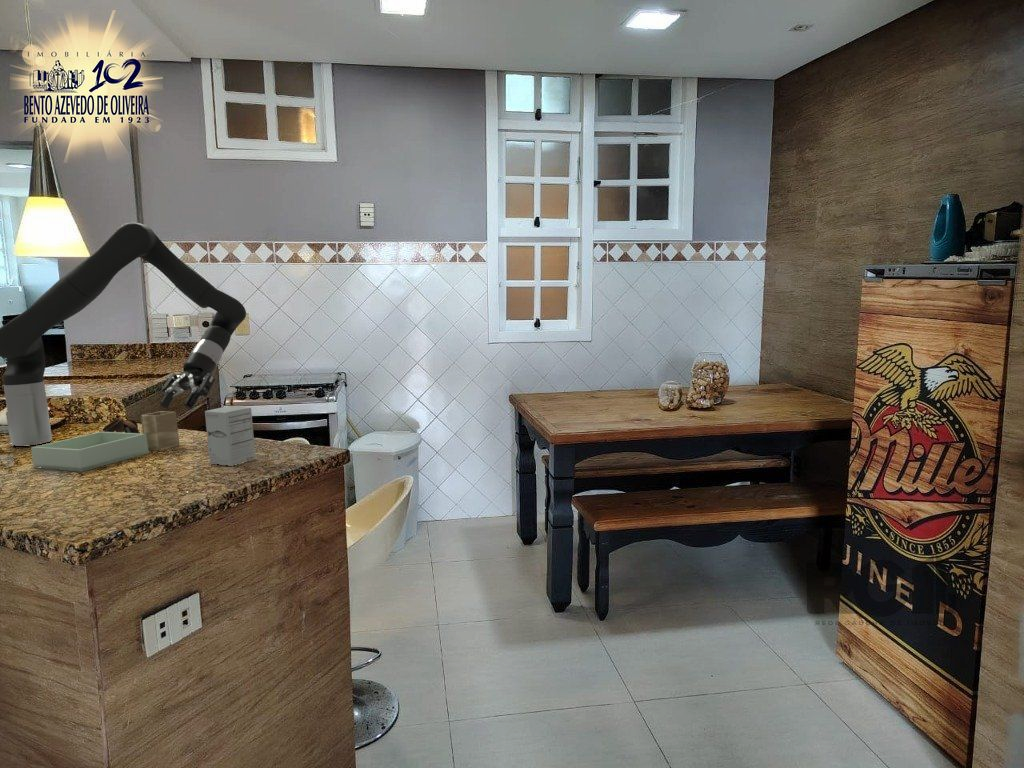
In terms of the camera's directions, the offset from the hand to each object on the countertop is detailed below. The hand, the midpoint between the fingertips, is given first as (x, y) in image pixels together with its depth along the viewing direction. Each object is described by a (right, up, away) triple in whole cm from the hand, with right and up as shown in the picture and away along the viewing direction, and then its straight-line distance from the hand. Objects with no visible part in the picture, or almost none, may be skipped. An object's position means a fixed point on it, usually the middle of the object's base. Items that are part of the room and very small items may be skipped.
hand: (175, 406), depth 183 cm
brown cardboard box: (-1, -10, -4) cm, 11 cm away
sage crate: (-12, -13, -15) cm, 23 cm away
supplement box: (+25, -12, -24) cm, 37 cm away
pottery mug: (-16, -10, +4) cm, 19 cm away
